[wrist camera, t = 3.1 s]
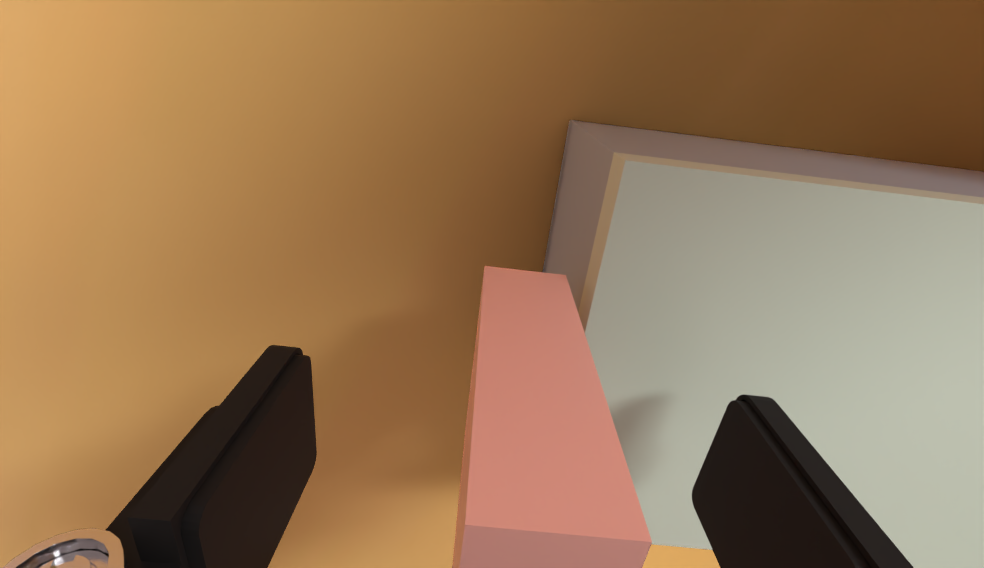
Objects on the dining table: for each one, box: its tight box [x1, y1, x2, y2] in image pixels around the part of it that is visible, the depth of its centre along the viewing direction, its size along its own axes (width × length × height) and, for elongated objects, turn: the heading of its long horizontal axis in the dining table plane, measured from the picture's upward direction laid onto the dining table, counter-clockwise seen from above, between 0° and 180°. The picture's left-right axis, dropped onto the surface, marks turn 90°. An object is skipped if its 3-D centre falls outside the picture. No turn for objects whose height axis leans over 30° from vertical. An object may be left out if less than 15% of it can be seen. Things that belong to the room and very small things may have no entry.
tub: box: [543, 120, 984, 311], centre depth 16 cm, size 11×17×7 cm, turn 83°
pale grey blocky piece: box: [452, 152, 984, 568], centre depth 10 cm, size 11×20×8 cm, turn 83°
